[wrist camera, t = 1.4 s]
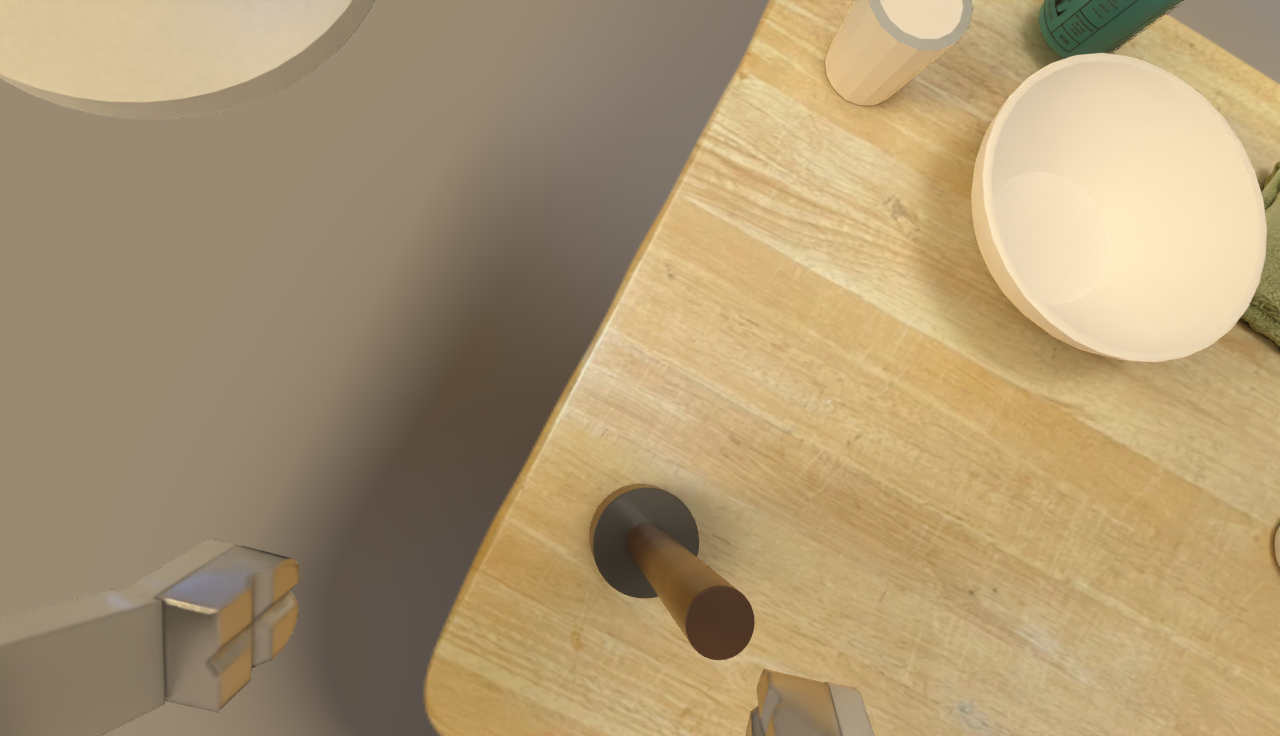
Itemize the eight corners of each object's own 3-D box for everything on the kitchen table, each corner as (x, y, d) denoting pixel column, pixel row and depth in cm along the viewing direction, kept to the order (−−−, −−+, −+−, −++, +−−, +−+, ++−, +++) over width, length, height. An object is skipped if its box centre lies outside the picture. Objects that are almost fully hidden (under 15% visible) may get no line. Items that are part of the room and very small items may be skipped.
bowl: (865, 173, 41) (925, 120, 34) (1074, 75, 45) (1166, 10, 38) (1000, 424, 40) (1090, 420, 33) (1203, 303, 44) (1321, 278, 37)
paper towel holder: (590, 484, 36) (624, 524, 18) (687, 483, 37) (809, 521, 19) (588, 587, 35) (622, 733, 17) (687, 584, 36) (816, 720, 18)
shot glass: (919, 104, 42) (989, 38, 36) (833, 122, 41) (889, 58, 34) (889, 17, 43) (952, -64, 36) (804, 33, 42) (853, -48, 35)
